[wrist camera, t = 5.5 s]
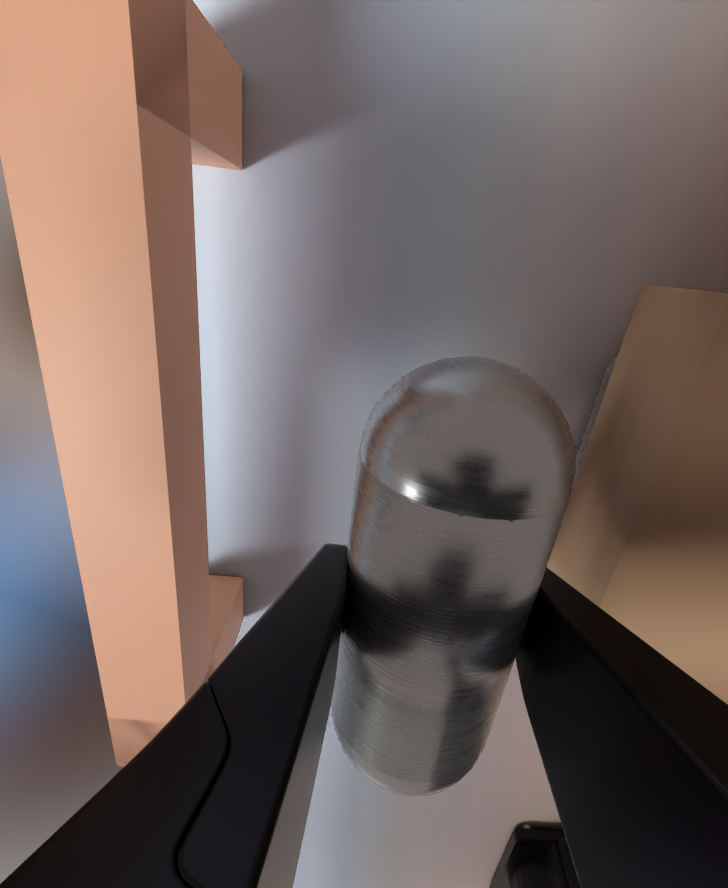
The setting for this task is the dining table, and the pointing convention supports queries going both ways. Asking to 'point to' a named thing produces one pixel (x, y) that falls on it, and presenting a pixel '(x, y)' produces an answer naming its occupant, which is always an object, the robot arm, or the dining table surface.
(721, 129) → the dining table surface
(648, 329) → the slab
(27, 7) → the bar
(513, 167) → the dining table surface
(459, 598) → the roller
